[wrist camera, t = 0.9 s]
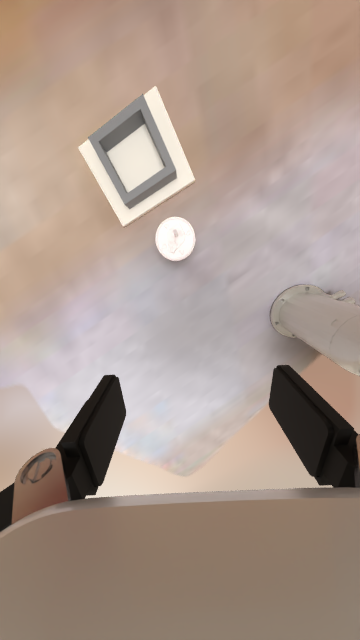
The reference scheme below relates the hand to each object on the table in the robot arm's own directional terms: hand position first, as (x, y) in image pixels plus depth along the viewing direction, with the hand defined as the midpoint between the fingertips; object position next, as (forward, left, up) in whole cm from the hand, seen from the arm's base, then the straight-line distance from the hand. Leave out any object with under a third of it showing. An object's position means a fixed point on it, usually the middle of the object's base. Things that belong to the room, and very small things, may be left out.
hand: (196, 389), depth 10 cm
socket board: (-3, -25, -31) cm, 40 cm away
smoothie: (-3, -10, -31) cm, 33 cm away
